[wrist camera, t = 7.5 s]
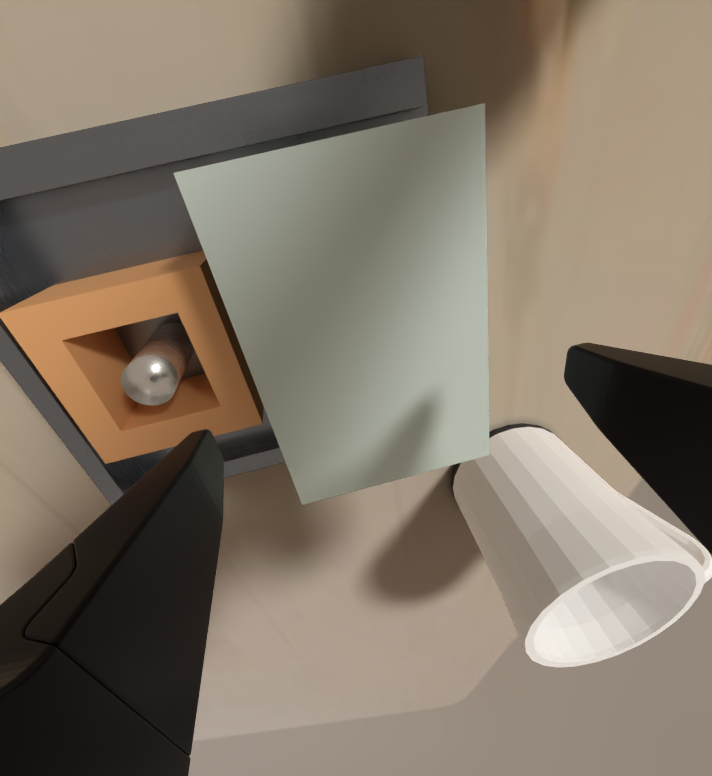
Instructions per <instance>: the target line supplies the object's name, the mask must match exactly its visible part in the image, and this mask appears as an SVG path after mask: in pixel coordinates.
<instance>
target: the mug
mask: <svg viewBox="0 0 712 776" xmlns="http://www.w3.org/2000/svg"><path fill="white" fill-rule="evenodd" d="M451 487H452V492H453V496H454V498H455V500H456V502H457V504H458V506H459V508H460V510H461V512H462V514H463V516H464V518H465V520H466V522H467V524H468V526H469V528H470V530H471V532H472V534H473V537H474V539H475V541H476V543H477V545H478V547H479V549H480V551H481V553H482V555H483V557H484V559H485V561H486V563H487V565H488V567H489V569H490V571H491V573H492V575H493V577H494V579H495V581H496V584H497V586H498V588H499V590H500V592H501V594H502V596H503V599H504V601H505V604H506V606H507V609H508V611H509V614H510V616H511V618H512V621H513V623H514V626H515V628H516V631H517V633H518V636H519V638H520V640H521V643H522V645H523V647H524V649H525V651H526V653H527V654H528V655H529V657H530V658H531V659H532V660H533V661H535V662H537V663H539V664H541V665H544V666H552V667H572V666H580V665H584V664H589V663H594V662H598V661H601V660H604V659H607V658H610V657H613V656H616V655H619V654H621V653H623V652H625V651H627V650H630V649H632V648H634V647H636V646H638V645H640V644H642V643H644V642H645V641H647V640H649V639H651V638H652V637H654V636H656V635H658V634H659V633H660V632H662V631H663V630H664V629H666V628H667V627H669V626H670V625H671V624H673V623H674V622H675V621H676V620H677V619H679V617H681V616H682V615H683V614H684V613H685V612H686V611H687V610H688V609H689V608H690V607H691V606H692V604H693V603H694V601H695V600H696V599H697V597H698V596H699V595H700V593H701V590H702V588H703V585H704V583H705V582H707V581H708V580H709V579H710V578H711V576H712V558H711V556H710V554H709V552H708V550H707V549H706V548H705V547H704V546H702V545H701V544H700V543H699V542H697V541H696V540H695V539H694V538H692V537H691V536H689V535H688V534H686V533H684V532H683V531H681V530H679V529H678V528H676V527H674V526H673V525H671V524H669V523H668V522H666V521H664V520H663V519H661V518H659V517H658V516H656V515H655V514H653V513H651V512H650V511H648V510H646V509H645V508H643V507H641V506H640V505H638V504H636V503H635V502H633V501H631V500H630V499H628V498H626V497H625V496H623V495H621V494H620V493H618V492H616V491H615V490H614V489H613V488H612V487H611V486H609V485H608V484H607V483H606V482H605V481H604V480H603V479H602V478H601V477H600V476H599V475H598V474H596V473H595V472H594V471H593V470H592V469H591V468H590V467H589V466H588V465H587V464H586V463H585V462H583V461H582V460H581V459H580V458H579V457H578V456H577V455H576V454H575V453H574V452H573V451H571V450H570V449H569V448H568V447H567V446H566V445H565V444H564V443H563V442H562V441H561V440H560V439H558V438H557V437H556V436H555V435H554V434H553V433H552V432H551V431H549V430H547V429H545V428H543V427H541V426H538V425H530V424H514V425H507V426H504V427H501V428H498V429H495V430H493V431H491V432H489V455H487V456H483V457H480V458H476V459H472V460H469V461H465V462H461V463H457V464H456V466H455V468H454V470H453V476H452V482H451Z"/></svg>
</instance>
